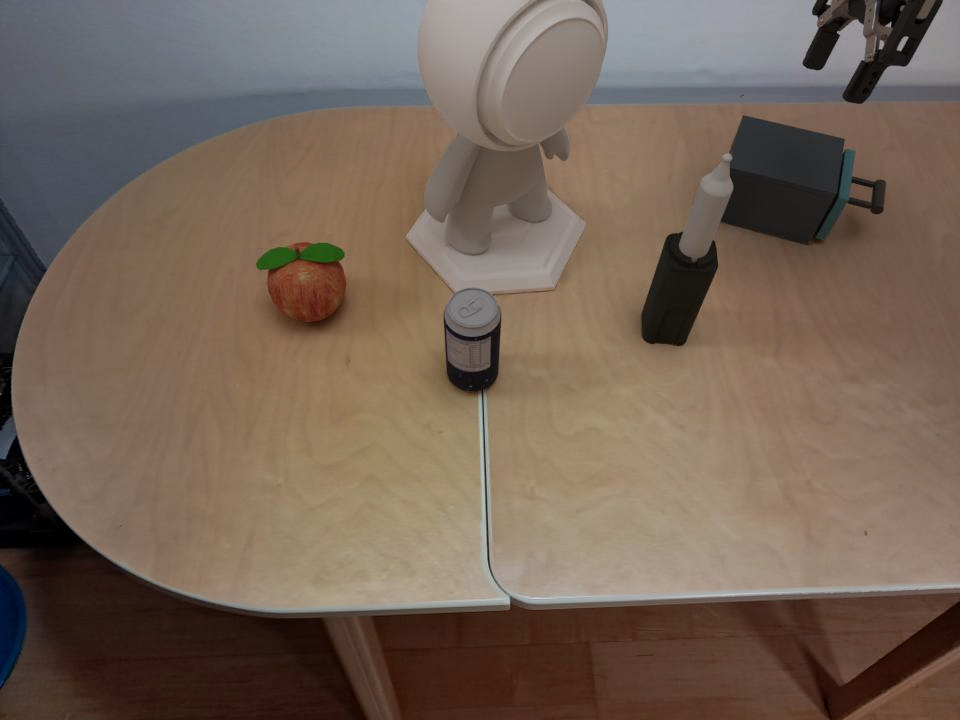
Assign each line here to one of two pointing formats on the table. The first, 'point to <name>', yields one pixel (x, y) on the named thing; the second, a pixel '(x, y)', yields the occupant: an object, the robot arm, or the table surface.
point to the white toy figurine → (504, 136)
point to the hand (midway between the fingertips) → (830, 84)
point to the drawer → (844, 192)
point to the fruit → (305, 279)
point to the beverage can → (472, 339)
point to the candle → (687, 264)
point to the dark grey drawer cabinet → (782, 178)
